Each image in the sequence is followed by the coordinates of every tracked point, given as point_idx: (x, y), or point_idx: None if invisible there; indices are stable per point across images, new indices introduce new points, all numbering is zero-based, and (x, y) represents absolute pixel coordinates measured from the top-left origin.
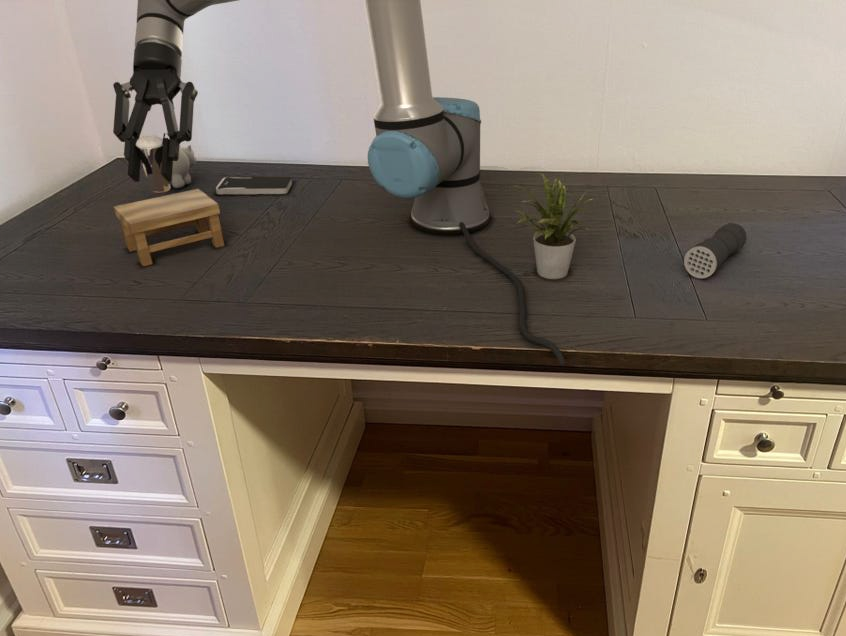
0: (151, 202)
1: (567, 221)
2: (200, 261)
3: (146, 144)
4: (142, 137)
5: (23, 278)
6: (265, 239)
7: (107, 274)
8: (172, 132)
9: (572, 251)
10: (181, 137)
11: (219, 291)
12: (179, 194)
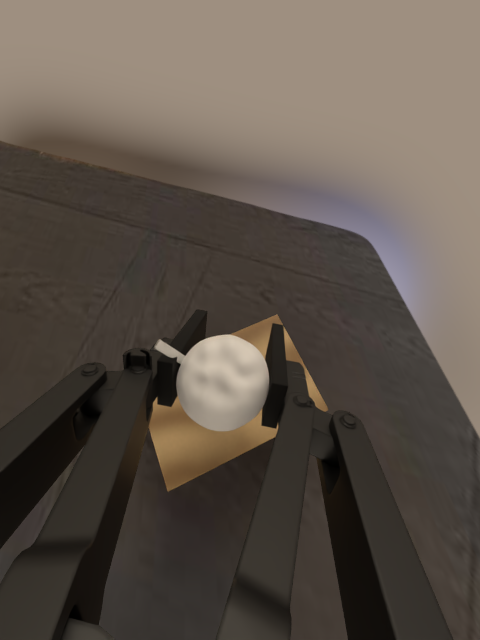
0: (259, 416)
1: None
2: None
3: (228, 335)
4: (245, 383)
5: (408, 339)
6: None
7: (307, 327)
8: (131, 374)
9: None
10: (112, 373)
11: (174, 257)
12: (207, 457)
